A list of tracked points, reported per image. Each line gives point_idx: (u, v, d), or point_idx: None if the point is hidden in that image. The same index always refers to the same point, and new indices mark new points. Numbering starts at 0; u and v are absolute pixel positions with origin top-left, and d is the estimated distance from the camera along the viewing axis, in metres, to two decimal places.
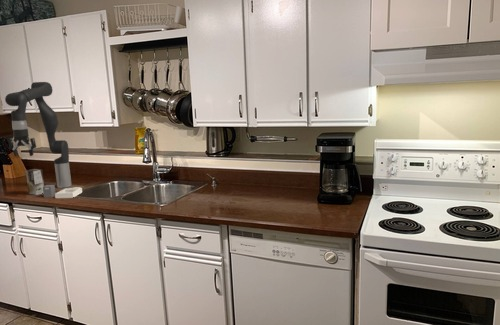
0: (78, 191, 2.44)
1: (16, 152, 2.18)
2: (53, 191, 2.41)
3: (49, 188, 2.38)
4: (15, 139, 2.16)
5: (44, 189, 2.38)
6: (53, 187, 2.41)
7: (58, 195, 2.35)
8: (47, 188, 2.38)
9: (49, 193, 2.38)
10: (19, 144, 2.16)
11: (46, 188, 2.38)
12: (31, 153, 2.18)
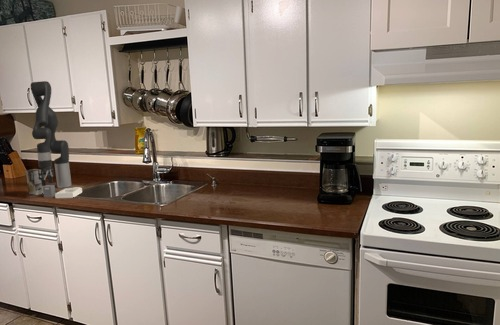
0: (78, 191, 2.44)
1: None
2: (53, 191, 2.41)
3: (49, 188, 2.38)
4: (45, 169, 2.35)
5: (44, 189, 2.38)
6: (53, 187, 2.41)
7: (58, 195, 2.35)
8: (47, 188, 2.38)
9: (49, 193, 2.38)
10: None
11: (46, 188, 2.38)
12: None
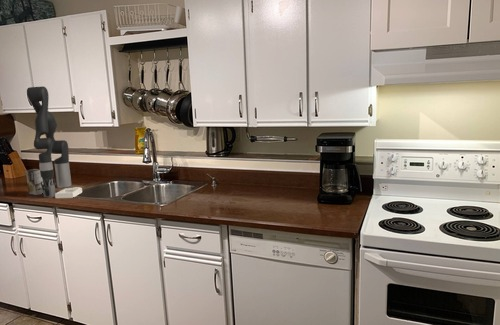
0: (78, 191, 2.44)
1: None
2: (53, 191, 2.41)
3: (49, 188, 2.38)
4: (47, 179, 2.36)
5: None
6: (53, 187, 2.41)
7: (58, 195, 2.35)
8: None
9: (49, 193, 2.38)
10: None
11: None
12: None
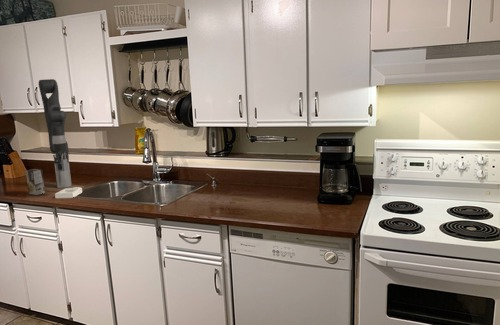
0: (78, 191, 2.44)
1: None
2: (66, 165, 2.38)
3: (62, 162, 2.35)
4: (59, 152, 2.33)
5: None
6: (66, 161, 2.38)
7: (58, 195, 2.35)
8: None
9: (62, 167, 2.35)
10: None
11: None
12: None
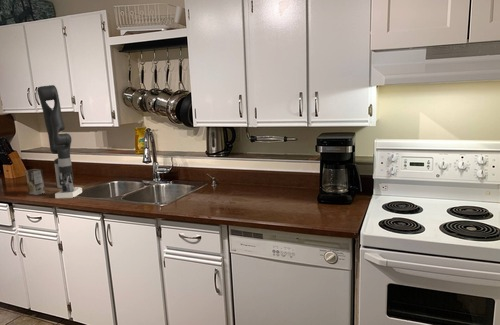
0: (78, 191, 2.44)
1: None
2: (72, 189, 2.41)
3: (68, 186, 2.38)
4: (65, 175, 2.36)
5: None
6: (72, 185, 2.41)
7: (58, 195, 2.35)
8: (66, 186, 2.38)
9: (68, 191, 2.39)
10: (67, 179, 2.39)
11: None
12: None
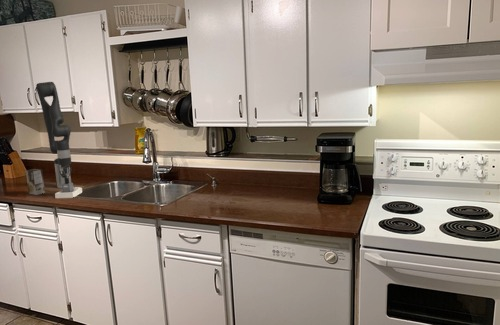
0: (78, 191, 2.44)
1: None
2: (72, 189, 2.41)
3: (68, 186, 2.38)
4: (64, 167, 2.35)
5: (63, 187, 2.38)
6: (72, 185, 2.41)
7: (58, 195, 2.35)
8: (66, 186, 2.38)
9: (68, 191, 2.39)
10: None
11: (65, 186, 2.38)
12: None
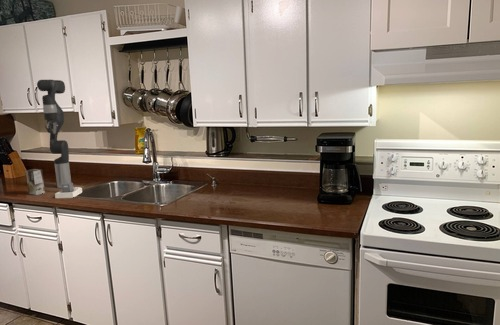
0: (78, 191, 2.44)
1: None
2: (72, 189, 2.41)
3: (68, 186, 2.38)
4: (50, 122, 2.33)
5: (63, 187, 2.38)
6: (72, 185, 2.41)
7: (58, 195, 2.35)
8: (66, 186, 2.38)
9: (68, 191, 2.39)
10: None
11: (65, 186, 2.38)
12: None
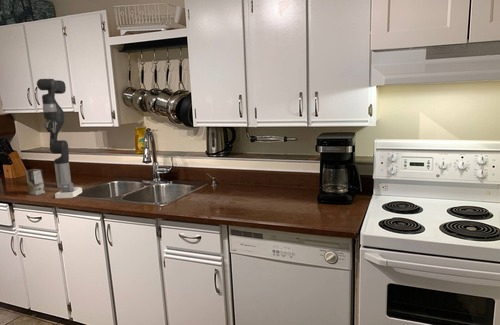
0: (78, 191, 2.44)
1: None
2: (72, 189, 2.41)
3: (68, 186, 2.38)
4: (50, 121, 2.33)
5: (63, 187, 2.38)
6: (72, 185, 2.41)
7: (58, 195, 2.35)
8: (66, 186, 2.38)
9: (68, 191, 2.39)
10: None
11: (65, 186, 2.38)
12: None
